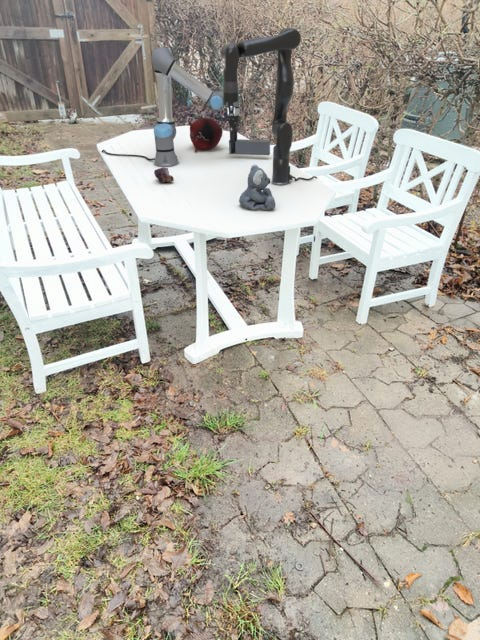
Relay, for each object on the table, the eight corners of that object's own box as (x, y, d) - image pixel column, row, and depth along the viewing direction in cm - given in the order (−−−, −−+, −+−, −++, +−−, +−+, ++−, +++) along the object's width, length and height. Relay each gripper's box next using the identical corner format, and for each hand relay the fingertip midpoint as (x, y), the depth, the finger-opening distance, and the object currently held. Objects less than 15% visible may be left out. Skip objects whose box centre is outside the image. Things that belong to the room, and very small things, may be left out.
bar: (229, 154, 303) (228, 140, 298) (230, 152, 307) (230, 139, 302) (269, 155, 298) (269, 141, 293) (270, 153, 302) (270, 140, 297)
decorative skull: (188, 123, 330) (185, 120, 306) (219, 116, 329) (218, 112, 306) (194, 153, 337) (192, 152, 313) (225, 146, 336) (225, 145, 313)
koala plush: (276, 211, 223) (277, 171, 212) (240, 212, 222) (240, 172, 211) (271, 199, 237) (272, 161, 226) (237, 200, 236) (237, 162, 225)
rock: (168, 180, 269) (152, 182, 265) (166, 165, 265) (150, 167, 261) (175, 182, 260) (159, 184, 256) (174, 166, 256) (157, 168, 252)
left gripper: (236, 117, 283) (236, 155, 296) (241, 112, 297) (242, 149, 310) (224, 117, 284) (225, 155, 298) (230, 112, 298) (231, 148, 312)
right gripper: (238, 93, 218) (239, 128, 227) (237, 89, 230) (238, 122, 239) (223, 93, 218) (224, 128, 227) (223, 89, 230) (223, 123, 239)
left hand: (234, 152), depth 304 cm, fingers closed on bar, 4 cm apart
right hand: (231, 125), depth 233 cm, fingers open, 8 cm apart
